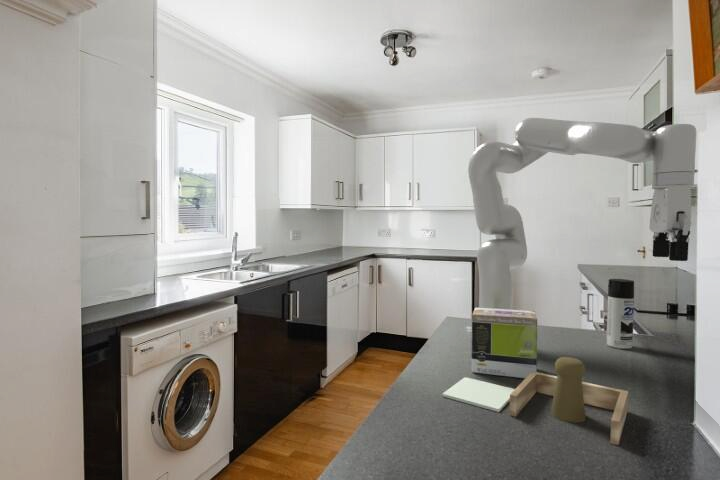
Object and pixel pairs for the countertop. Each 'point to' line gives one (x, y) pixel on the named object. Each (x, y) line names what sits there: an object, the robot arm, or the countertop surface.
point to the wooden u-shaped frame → (591, 395)
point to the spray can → (620, 313)
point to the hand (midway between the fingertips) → (669, 258)
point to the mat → (480, 394)
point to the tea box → (504, 342)
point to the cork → (569, 390)
